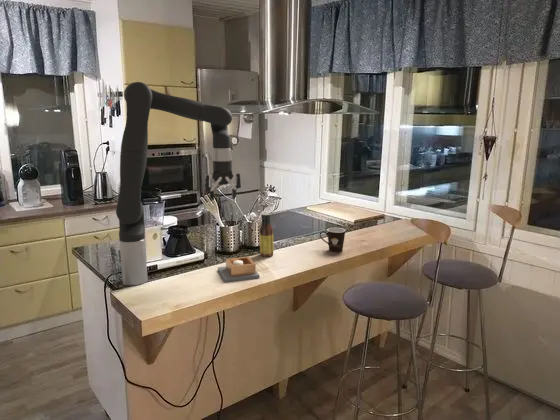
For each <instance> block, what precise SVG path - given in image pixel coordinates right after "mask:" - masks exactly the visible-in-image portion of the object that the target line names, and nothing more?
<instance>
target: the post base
mask: <svg viewBox="0 0 560 420" xmlns="http://www.w3.org/2000/svg"><path fill="white" fill-rule="evenodd" d="M235 265H243V261H241V260H236V261H233V266H235ZM217 271H218V272H219V275H220V276H221V278H222V279H224V280H223V282H224V283H230V282H238V281H246V280H254V279H260V274H259V273H258V271H257V270H256V274H249V275H241V276H232V277H231V275H230V274H229V272H228V270H227V269H226V266H218V267H217Z"/></svg>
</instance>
